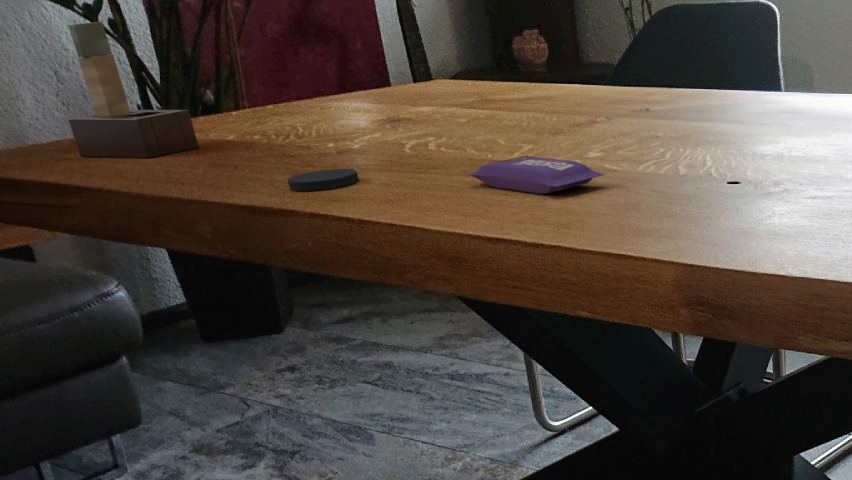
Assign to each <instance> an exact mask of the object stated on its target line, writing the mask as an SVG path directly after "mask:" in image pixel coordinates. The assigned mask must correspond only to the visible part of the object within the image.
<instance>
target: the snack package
mask: <svg viewBox="0 0 852 480" xmlns="http://www.w3.org/2000/svg"><path fill="white" fill-rule="evenodd" d="M605 175H606V174H605V173H603V172H599V171H598V172H597V171H595V170H592V168H590V167H589V166H587V165H586V164H584V163H581V162H579V161H574V160H570V159H569V160H568V159H557V158H549V157H539V156H533V155H525V156H524V155H522V156H518V157H514V158H509V159H504V160H499V161H494V162H490V163H486V164H483V165H481V166H480V167H479V168H478V169H477V171H474V172H470V173H467V176H470V177H473V178H476V179H477V180H479V181H480V182H482V183H483V184H485V185H488V186H490V187H493V188H496V189H503V190H512V191H516V192H517V191H518V192H526V193H530V194H531V193H532V194H538V195H539V194H540V195H545V194H551V193H555V192H558V191H563V190H567V189H572V188H575V187H579V186H582V185H586V184H589V183H590V182H591V181H592V180H593V179H594V178H597V177H602V176H605Z"/></svg>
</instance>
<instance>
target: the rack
mask: <svg viewBox="0 0 852 480" xmlns="http://www.w3.org/2000/svg"><path fill="white" fill-rule="evenodd" d="M130 112H131V113H128V114H123V115H117V116H111V117H97V116H96V113H93V114H87V115H82V116H75V117H70V118H68V119H67V120H68V122H69V126H70V129H71V133H72V135H73V139H74V141H75V144H76V147H77V150H78V153H79V156H80V157H82V158H83V157H85V158H88V157H89V158H117V159H119V158H123V159H125V158H126V159H152V158H157V157H162V156H166V155H167V156H168V155H171V154H177V153H181V152H185V151H191V150H195V149H199V148H200V145H199V143H198V139H197V136H196V135H197V134H196V132H195V128H194V125H193V122H192V118H191V114H190V111H189V109H130Z"/></svg>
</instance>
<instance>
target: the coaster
mask: <svg viewBox="0 0 852 480" xmlns="http://www.w3.org/2000/svg"><path fill="white" fill-rule="evenodd" d="M358 182H359V175H358V172H357V170H356V169H352V168H331V169H329V168H328V169H322V170H315V171H308V172H303V173H299V174H296V175H292V176H291V177H288V178H287V183H288V188H289V189H290V191H295V192H317V191H327V190H334V189H339V188H343V187H347V186H351V185H354V184H356V183H358Z"/></svg>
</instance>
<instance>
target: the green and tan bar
mask: <svg viewBox="0 0 852 480" xmlns="http://www.w3.org/2000/svg"><path fill="white" fill-rule="evenodd" d="M103 23H104V22H103V21H92V22H84V23H83V22H82V23H74V24H73V23H71V24H68V29H69V32H70V35H71V40H72V42H73V45H74V48H75V51H76V55H77V59H78V62H79V66H80V70H81V72H82V75H83V78H84V81H85V85H86V88H87V91H88V95H89V97H90V100H91V104H92V107H93V109H94V112H95V113H94V114H96V116H97V117H111V116H117V115H123V114H128V113H131V112H130V110H131V108H130V105H129V102H128V99H127V95H126V92H125V88H124V86H123V82H122V79H121V76H120V73H119V70H118V66H117V63H116V59H115V56H114V54H113V52H112V49H111V46H110V43H109V39H108V36H107V33H106V30H105V27H104V24H103Z"/></svg>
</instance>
